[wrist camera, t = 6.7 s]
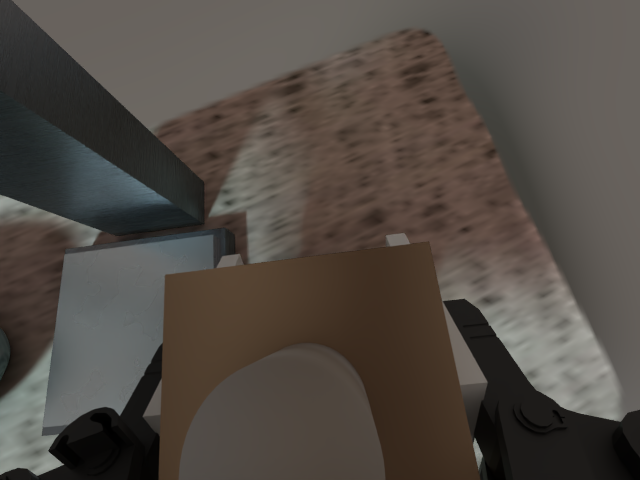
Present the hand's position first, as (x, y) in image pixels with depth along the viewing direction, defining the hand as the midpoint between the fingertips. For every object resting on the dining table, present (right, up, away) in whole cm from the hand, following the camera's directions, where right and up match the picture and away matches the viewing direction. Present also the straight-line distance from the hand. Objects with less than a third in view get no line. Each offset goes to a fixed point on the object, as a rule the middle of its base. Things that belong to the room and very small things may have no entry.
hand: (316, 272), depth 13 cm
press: (-10, -2, +6) cm, 12 cm away
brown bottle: (+1, -4, +3) cm, 5 cm away
